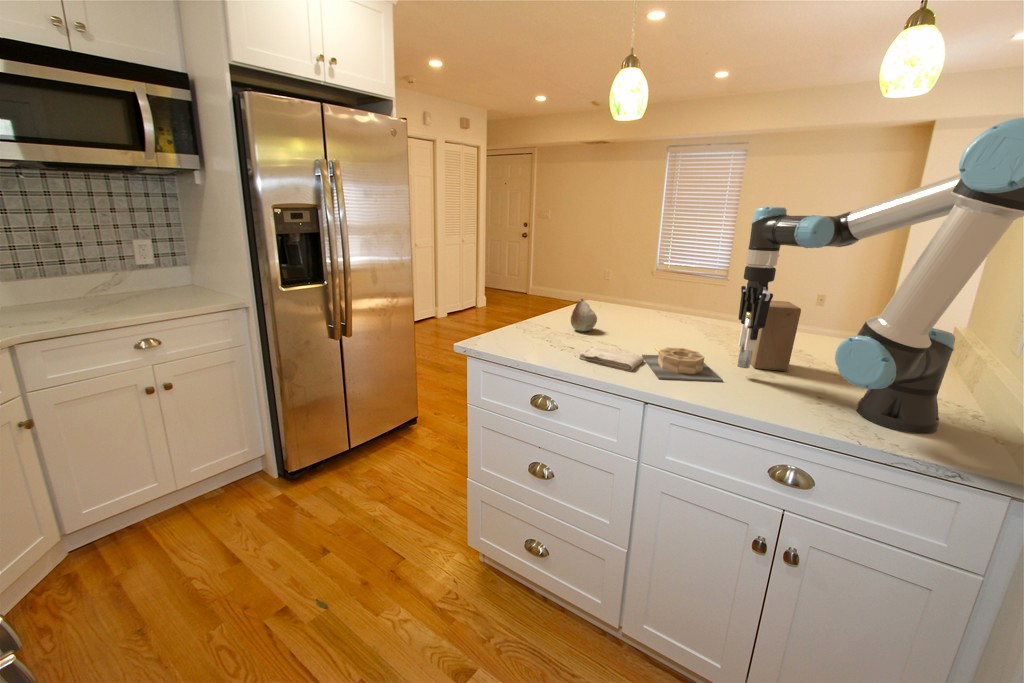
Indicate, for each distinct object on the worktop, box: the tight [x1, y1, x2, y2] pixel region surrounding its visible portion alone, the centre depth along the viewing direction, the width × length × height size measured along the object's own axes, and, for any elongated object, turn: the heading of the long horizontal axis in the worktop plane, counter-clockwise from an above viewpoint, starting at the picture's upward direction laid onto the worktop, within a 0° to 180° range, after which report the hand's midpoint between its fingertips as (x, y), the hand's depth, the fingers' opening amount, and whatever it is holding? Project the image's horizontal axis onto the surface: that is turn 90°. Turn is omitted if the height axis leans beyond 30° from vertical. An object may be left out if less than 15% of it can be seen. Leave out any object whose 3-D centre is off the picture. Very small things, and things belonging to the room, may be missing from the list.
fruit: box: [570, 298, 598, 333], centre depth 175 cm, size 10×9×12 cm
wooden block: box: [750, 300, 802, 372], centre depth 142 cm, size 10×10×20 cm
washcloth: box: [578, 345, 645, 372], centre depth 144 cm, size 12×18×3 cm, turn 56°
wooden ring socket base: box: [641, 347, 724, 383], centre depth 139 cm, size 20×18×5 cm
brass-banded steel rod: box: [737, 311, 752, 369], centre depth 131 cm, size 3×3×16 cm
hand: (746, 348), depth 131 cm, fingers closed on brass-banded steel rod, 3 cm apart
